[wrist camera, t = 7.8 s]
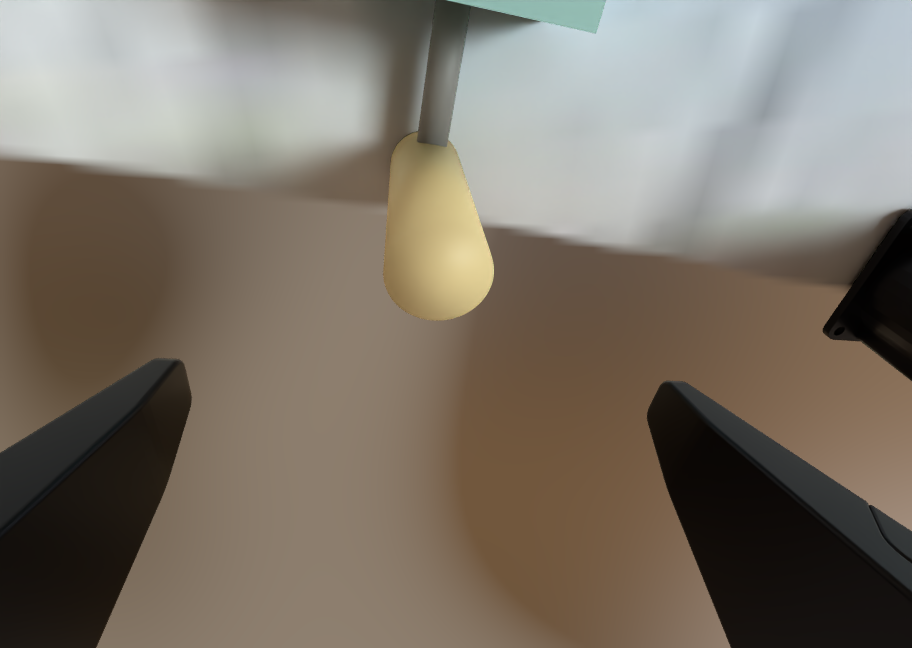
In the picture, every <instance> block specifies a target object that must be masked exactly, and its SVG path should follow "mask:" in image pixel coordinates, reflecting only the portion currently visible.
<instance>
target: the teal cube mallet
mask: <svg viewBox="0 0 912 648" xmlns="http://www.w3.org/2000/svg"><path fill="white" fill-rule="evenodd" d="M605 2H606V0H436V3H435V11H434V18H433V26H432V33H431V40H430V48H429V55H428V62H427V70H426V77H425V84H424V92H423V99H422V107H421V114H420V121H419V129H418V132H414V133H412V134H409V135H408V136H406V137H404V138H403V139H402V140H401V141H400V142H399V143H398V144H397V146H396V147H395V149H394V151H393V154H392V157H391V164H390V179H389V194H388V209H387V225H386V240H385V255H384V273H383V276H384V283H385V287H386V289H387V291H388V294H389V295H390V297H391V298H392V300H393V301H394V302H395V303H396V304H397V305H398V306H399V307H400V308H401V309H403V310H404V311H405V312H407V313H409V314H411V315H413V316H415V317H418V318H421V319H426V320H436V321H438V320H448V319H452V318H456V317H459V316H461V315H464V314H466V313H468V312H469V311H471V310H472V309H474V308H475V307H476V306H477V305H478V304H479V303H480V302H481V301H482V300H483V299H484V298H485V296H486V295H487V293H488V291H489V289H490V287H491V284H492V281H493V276H494V265H493V260H492V256H491V253H490V250H489V247H488V244H487V241H486V238H485V235H484V232H483V229H482V226H481V223H480V220H479V217H478V214H477V211H476V208H475V205H474V202H473V199H472V196H471V193H470V190H469V187H468V184H467V181H466V178H465V175H464V172H463V169H462V166H461V163H460V160H459V157H458V154H457V151H456V149H455V148H454V146H453V145H452V143H451V142H450V141H449V140H448V137H449V131H450V126H451V120H452V114H453V108H454V102H455V96H456V90H457V85H458V79H459V73H460V67H461V61H462V55H463V49H464V43H465V38H466V32H467V26H468V20H469V14H470V8H471V6H475V7H479V8H484V9H488V10H493V11H497V12H502V13H506V14H511V15H515V16H519V17H524V18H528V19H533V20H537V21H542V22H546V23H551V24H555V25H560V26H564V27H568V28H573V29H577V30H582V31H586V32H591V33H595V34H596V32H597V29H598V25H599V22H600V19H601V15H602V12H603V9H604V5H605Z"/></svg>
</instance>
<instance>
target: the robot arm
mask: <svg viewBox="0 0 912 648" xmlns="http://www.w3.org/2000/svg"><path fill="white" fill-rule="evenodd" d="M823 333H824V334H825V335H826V336H828V337H829V338H830V339H833V340H848V341H861V342H862V343H863V344H865V345H866V346H867V347H869V348H870V349H871V350H872V351H874V352H875V353H876V354H878V355H879V356H880V357H881V358H883V359H884V360H885V361H887V362H888V363H889V364H890V365H892V366H893V367H894V368H896V369H897V370H898V371H899V372H901V373H902V374H903V375H905V376H906V377H907V378H909V379H910V380H911V381H912V210H910V211H907V212H906V213H904V214H903V215H902V216H901V217H900V218H899V219H898V220H897V222H896V223H895V225H894V226H893V228H892V229H891V231H890V232H889V233H888V235H887V236H886V238H885V239H884V241H883V242H882V243H881V245H880V246H879V248H878V249H877V251H876V252H875V254H874V255H873V256H872V258H871V259H870V261H869V262H868V264H867V265H866V267H865V268H864V269H863V271H862V272H861V274H860V275H859V277H858V278H857V279H856V281H855V282H854V284H853V285H852V287H851V288H850V290H849V291H848V292H847V294H846V295H845V297H844V298H843V300H842V301H841V303H840V304H839V305H838V307H837V308H836V310H835V311H834V313H833V314H832V316H831V317H830V318H829V320H828V321H827V323H826V324H825V326H824V328H823ZM191 398H192V397H191V391H190V386H189V382H188V378H187V373H186V369H185V366H184V363H183V362H182V361H181V360H179V359H166V358H157V359H153V360H151V361H150V362H148V363H146V364H145V365H143V366H141V367H140V368H138V369H136V370H135V371H133V372H132V373H130V374H128V375H127V376H125V377H123V378H122V379H120V380H118V381H117V382H115V383H113V384H112V385H110V386H109V387H107V388H105V389H104V390H102V391H100V392H99V393H97V394H96V395H94V396H92V397H91V398H89V399H88V400H86V401H84V402H82V403H81V404H79V405H78V406H76V407H74V408H73V409H71V410H69V411H68V412H66V413H65V414H63V415H61V416H60V417H58V418H56V419H55V420H53V421H51V422H50V423H48V424H46V425H45V426H43V427H42V428H40V429H38V430H37V431H35V432H33V433H32V434H30V435H29V436H27V437H25V438H24V439H22V440H21V441H19V442H17V443H15V444H14V445H12V446H11V447H9V448H7V449H6V450H4V451H2V452H1V453H0V648H96V647H97V645H98V643H99V640H100V638H101V636H102V633H103V631H104V629H105V627H106V624H107V622H108V620H109V617H110V615H111V613H112V610H113V608H114V606H115V604H116V601H117V599H118V597H119V595H120V592H121V590H122V588H123V585H124V583H125V581H126V578H127V576H128V574H129V572H130V569H131V567H132V565H133V562H134V560H135V558H136V556H137V553H138V551H139V549H140V546H141V544H142V542H143V540H144V537H145V535H146V533H147V530H148V528H149V526H150V524H151V521H152V519H153V516H154V514H155V512H156V510H157V507H158V505H159V503H160V501H161V498H162V496H163V493H164V491H165V488H166V486H167V482H168V480H169V477H170V474H171V470H172V466H173V464H174V460H175V457H176V454H177V450H178V447H179V444H180V441H181V437H182V434H183V431H184V427H185V424H186V420H187V417H188V414H189V411H190V407H191ZM647 421H648V425H649V428H650V432H651V435H652V439H653V442H654V446H655V449H656V452H657V456H658V460H659V463H660V467H661V470H662V473H663V477H664V480H665V483H666V486H667V489H668V492H669V495H670V498H671V500H672V503H673V505H674V508H675V510H676V512H677V515H678V518H679V520H680V522H681V525H682V528H683V530H684V532H685V535H686V537H687V540H688V542H689V545H690V547H691V550H692V552H693V555H694V557H695V560H696V562H697V565H698V567H699V570H700V572H701V575H702V577H703V580H704V582H705V584H706V587H707V590H708V592H709V594H710V597H711V599H712V602H713V604H714V607H715V609H716V612H717V614H718V617H719V619H720V622H721V624H722V627H723V629H724V631H725V634H726V637H727V639H728V642H729V644H730V647H731V648H912V531H910V530H909V529H907V528H906V527H904V526H903V525H901V524H899V523H898V522H897V521H895V520H893V519H892V518H890V517H889V516H887V515H886V514H884V513H883V512H881V511H880V510H878V509H877V508H875V507H874V506H872V505H868V503H867V502H866V501H865V500H863V499H862V498H860V497H859V496H857V495H856V494H854V493H852V492H851V491H850V490H848V489H846V488H845V487H843V486H842V485H840V484H839V483H837V482H836V481H834V480H833V479H831V478H830V477H828V476H827V475H825V474H824V473H822V472H821V471H819V470H818V469H816V468H815V467H813V466H812V465H810V464H808V463H807V462H806V461H804V460H802V459H801V458H800V457H798V456H797V455H795V454H793V453H792V452H790V451H789V450H787V449H786V448H784V447H783V446H781V445H780V444H778V443H777V442H775V441H774V440H772V439H771V438H769V437H768V436H766V435H765V434H763V433H762V432H760V431H758V430H757V429H756V428H754V427H753V426H751V425H750V424H748V423H747V422H745V421H744V420H742V419H741V418H739V417H737V416H736V415H735V414H733V413H732V412H730V411H729V410H727V409H725V408H724V407H722V406H721V405H719V404H718V403H716V402H715V401H713V400H712V399H710V398H709V397H707V396H706V395H704V394H703V393H701V392H700V391H698V390H696V389H695V388H694V387H692V386H691V385H689V384H688V383H686V382H683V381H665V382H663V383H662V384H661V385H660V387H659V389H658V391H657V393H656V395H655V397H654V399H653V400H652V403H651V404H650V407H649V409H648V412H647Z"/></svg>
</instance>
